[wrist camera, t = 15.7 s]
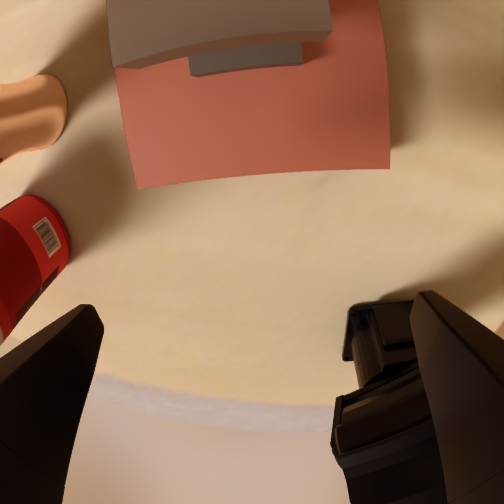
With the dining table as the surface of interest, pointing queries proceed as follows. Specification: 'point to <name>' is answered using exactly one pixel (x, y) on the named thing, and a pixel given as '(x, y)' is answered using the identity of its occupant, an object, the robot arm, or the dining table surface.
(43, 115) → the beer glass
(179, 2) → the pedestal
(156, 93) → the reddish-brown flat board
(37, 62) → the dining table surface
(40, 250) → the canned food
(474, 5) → the dining table surface
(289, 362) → the dining table surface
